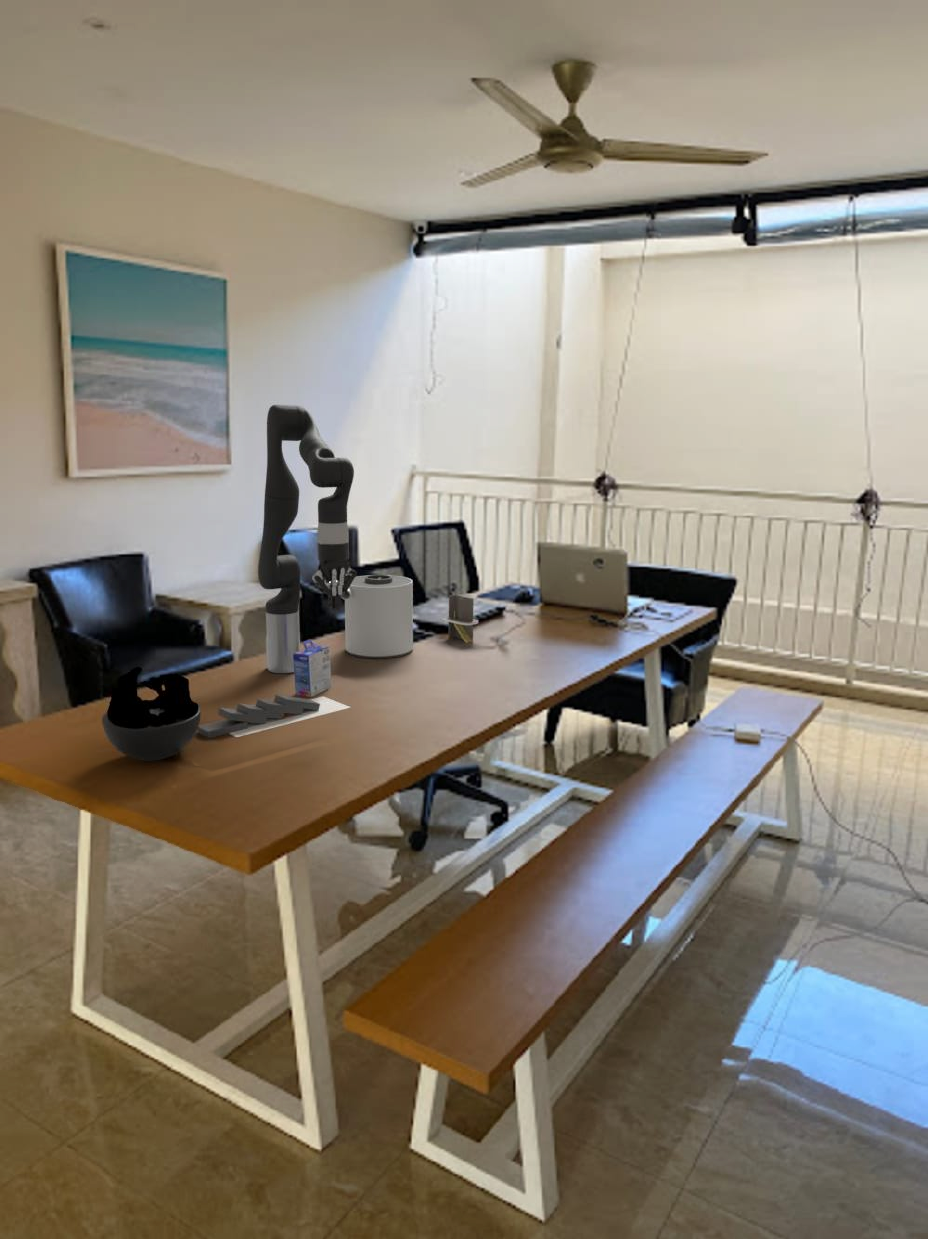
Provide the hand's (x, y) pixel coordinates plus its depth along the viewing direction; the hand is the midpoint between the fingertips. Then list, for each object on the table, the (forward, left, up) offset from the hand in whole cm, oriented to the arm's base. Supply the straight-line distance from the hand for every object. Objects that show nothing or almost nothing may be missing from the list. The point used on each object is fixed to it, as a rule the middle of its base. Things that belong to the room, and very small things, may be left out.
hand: (334, 609), depth 226 cm
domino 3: (0, -17, -23) cm, 29 cm away
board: (0, -16, -25) cm, 30 cm away
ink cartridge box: (-12, +1, -25) cm, 28 cm away
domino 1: (0, -27, -23) cm, 36 cm away
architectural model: (-29, +70, -26) cm, 80 cm away
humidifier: (-36, +40, -25) cm, 59 cm away
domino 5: (0, -7, -23) cm, 24 cm away
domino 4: (0, -12, -23) cm, 26 cm away
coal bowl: (+3, -50, -25) cm, 56 cm away
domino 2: (0, -22, -23) cm, 32 cm away
